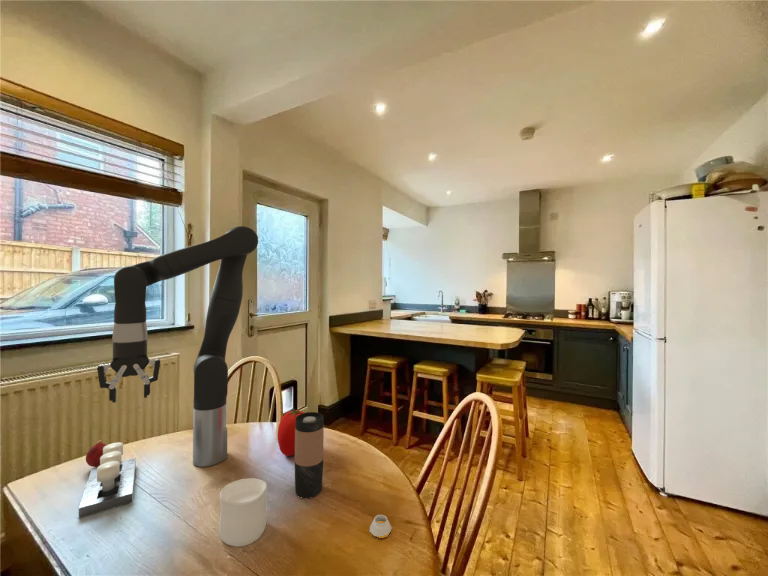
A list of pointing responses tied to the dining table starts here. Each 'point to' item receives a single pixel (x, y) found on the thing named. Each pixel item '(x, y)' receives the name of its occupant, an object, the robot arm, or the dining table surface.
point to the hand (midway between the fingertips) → (130, 399)
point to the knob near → (108, 474)
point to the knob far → (113, 448)
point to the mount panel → (106, 500)
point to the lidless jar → (380, 526)
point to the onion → (95, 454)
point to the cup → (243, 511)
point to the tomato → (288, 432)
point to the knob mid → (111, 457)
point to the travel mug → (309, 454)
